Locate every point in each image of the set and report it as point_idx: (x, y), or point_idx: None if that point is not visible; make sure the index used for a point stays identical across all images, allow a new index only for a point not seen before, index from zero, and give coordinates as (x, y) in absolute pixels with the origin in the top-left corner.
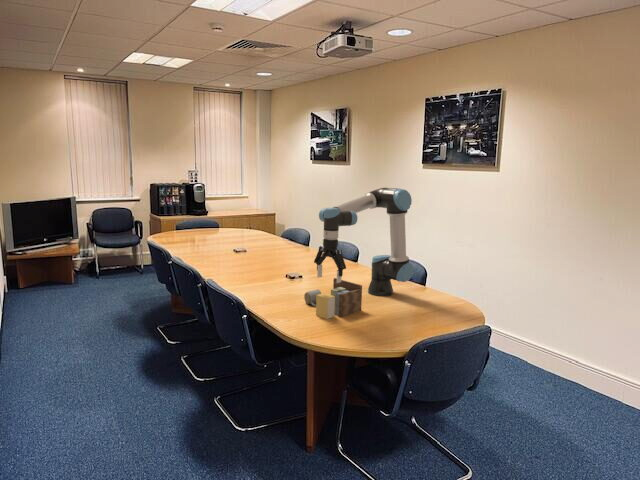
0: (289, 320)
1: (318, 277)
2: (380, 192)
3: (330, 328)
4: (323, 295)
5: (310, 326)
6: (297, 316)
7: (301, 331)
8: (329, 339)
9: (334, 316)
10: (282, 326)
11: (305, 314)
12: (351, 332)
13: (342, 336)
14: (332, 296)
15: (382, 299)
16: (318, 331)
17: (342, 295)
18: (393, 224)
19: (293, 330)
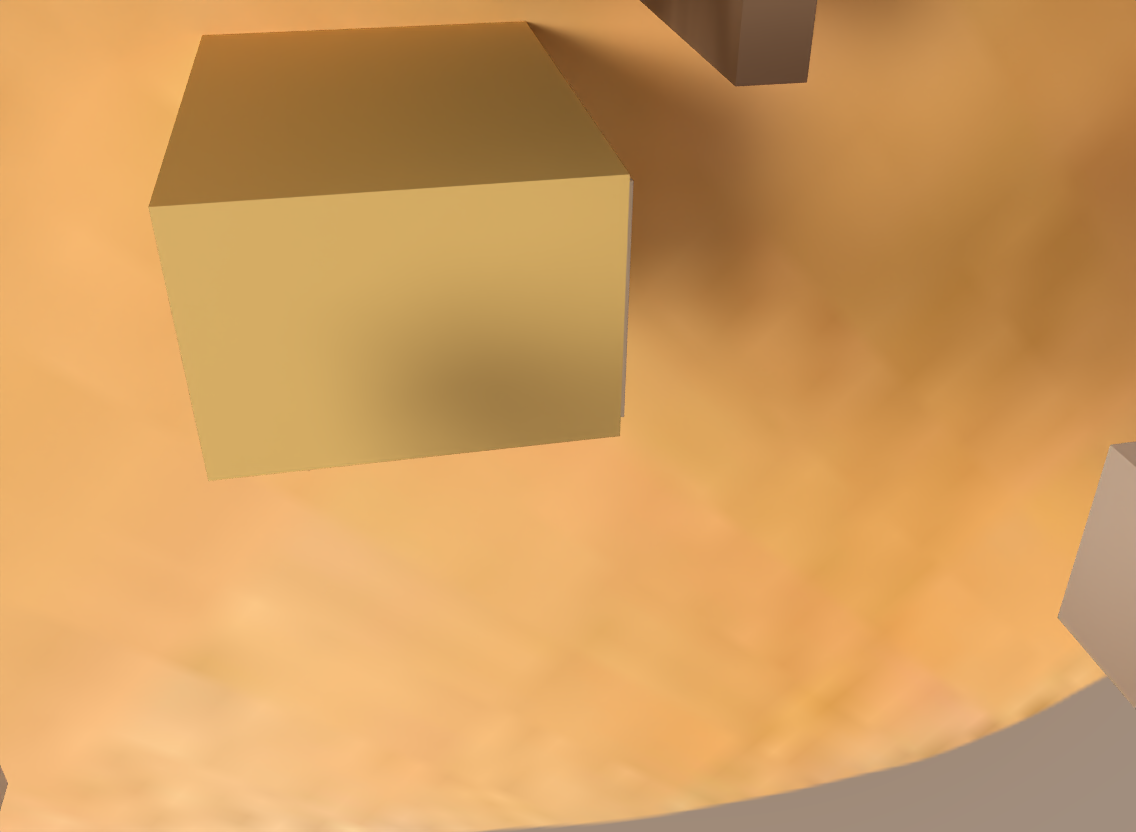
0: (211, 662)
1: (5, 781)
2: None
3: (830, 420)
4: (360, 369)
5: (587, 569)
6: (109, 507)
7: (634, 711)
8: (1012, 607)
9: (528, 25)
10: (358, 794)
11: (83, 358)
12: (1130, 299)
13: (1091, 462)
14: (589, 237)
15: None
16: (778, 580)
17: (803, 7)
18: None
19: (548, 757)
